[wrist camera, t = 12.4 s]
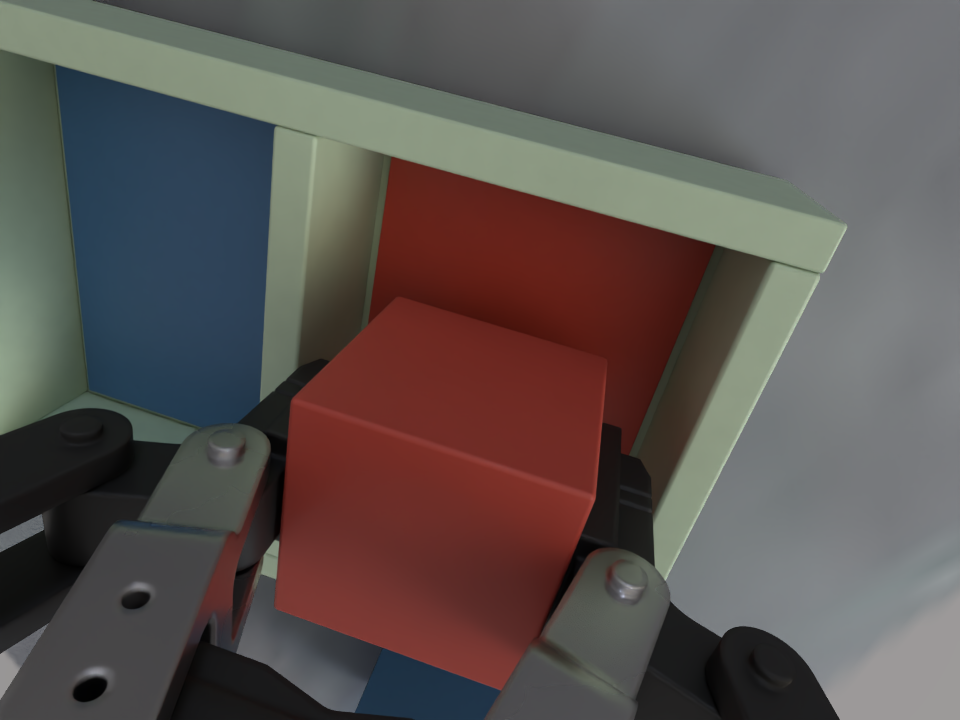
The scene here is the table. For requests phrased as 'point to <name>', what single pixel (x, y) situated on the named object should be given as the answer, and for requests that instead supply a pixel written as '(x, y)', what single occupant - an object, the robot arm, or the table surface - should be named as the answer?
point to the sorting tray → (363, 239)
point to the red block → (439, 487)
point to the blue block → (423, 691)
